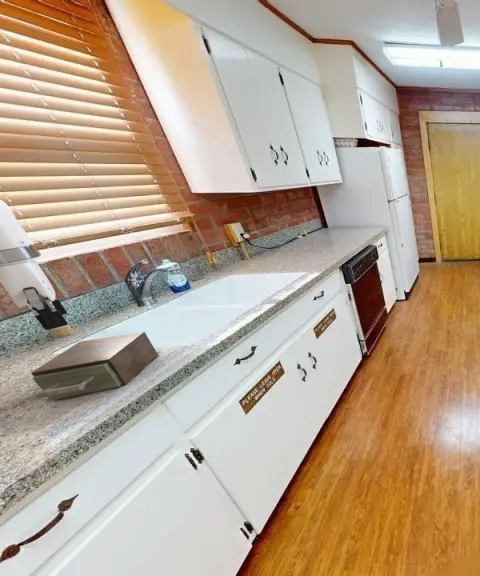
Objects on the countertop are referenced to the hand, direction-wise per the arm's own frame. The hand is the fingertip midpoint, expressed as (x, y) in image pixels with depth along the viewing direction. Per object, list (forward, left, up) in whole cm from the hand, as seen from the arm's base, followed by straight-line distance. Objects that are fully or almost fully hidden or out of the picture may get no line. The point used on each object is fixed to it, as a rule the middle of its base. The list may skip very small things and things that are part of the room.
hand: (57, 321), depth 73 cm
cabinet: (+3, +4, -21) cm, 21 cm away
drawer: (0, +1, -20) cm, 20 cm away
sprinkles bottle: (+7, +51, -21) cm, 55 cm away
